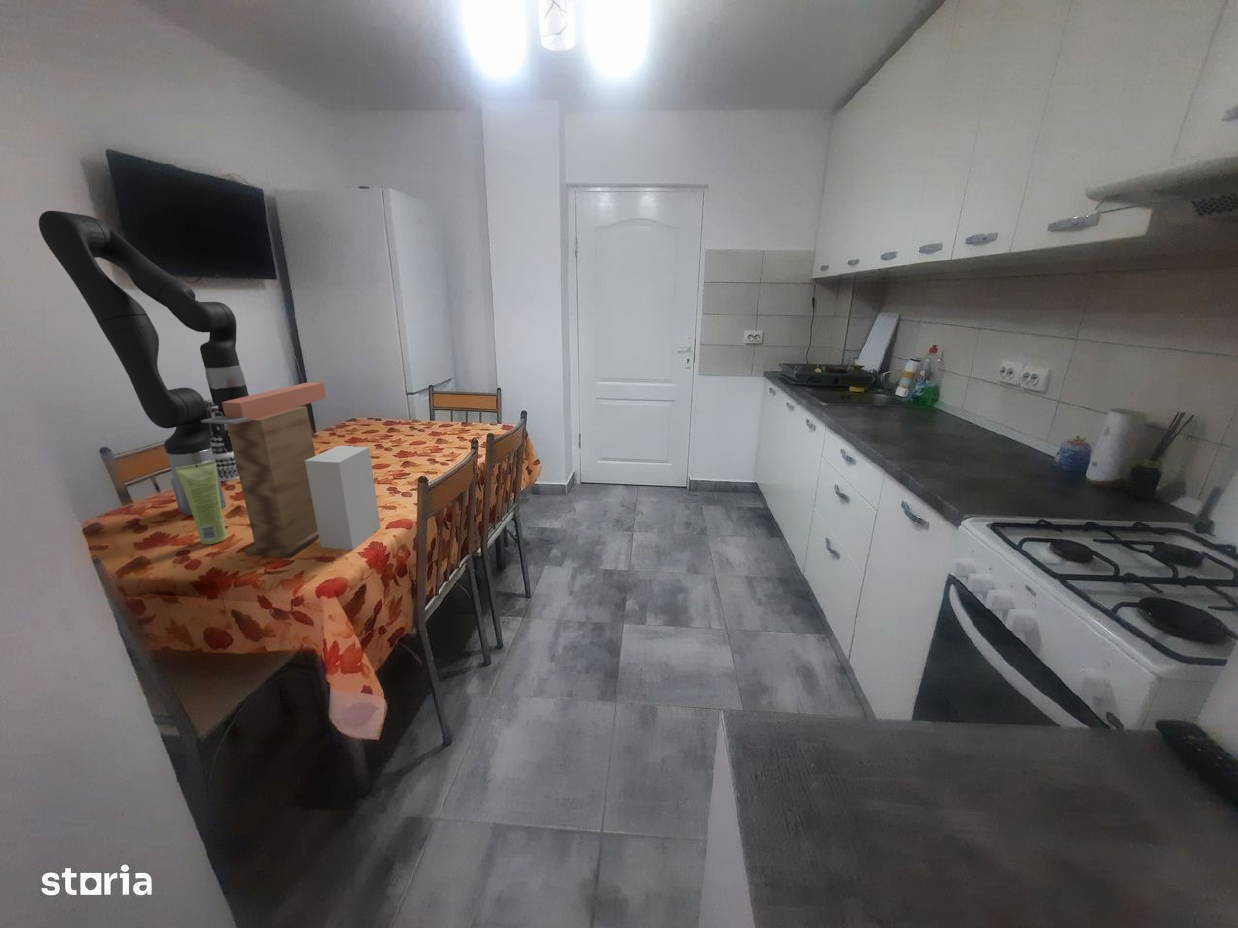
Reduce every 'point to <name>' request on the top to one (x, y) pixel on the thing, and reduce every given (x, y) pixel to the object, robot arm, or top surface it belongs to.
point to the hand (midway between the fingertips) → (243, 445)
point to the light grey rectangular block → (343, 496)
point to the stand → (276, 481)
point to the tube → (204, 500)
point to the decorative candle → (222, 452)
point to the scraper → (268, 403)
